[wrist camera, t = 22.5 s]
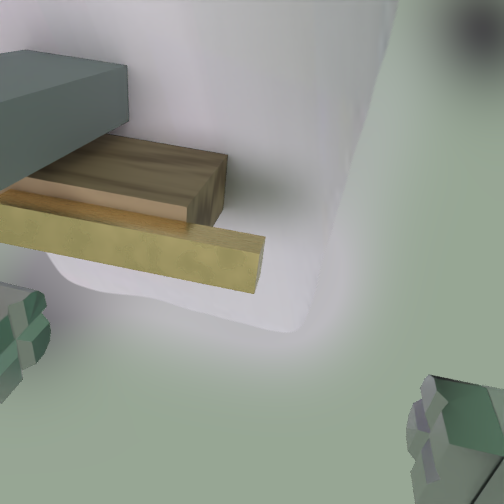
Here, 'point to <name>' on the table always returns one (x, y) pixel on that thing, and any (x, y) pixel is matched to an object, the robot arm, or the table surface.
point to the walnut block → (137, 179)
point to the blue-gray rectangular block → (54, 108)
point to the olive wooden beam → (132, 240)
